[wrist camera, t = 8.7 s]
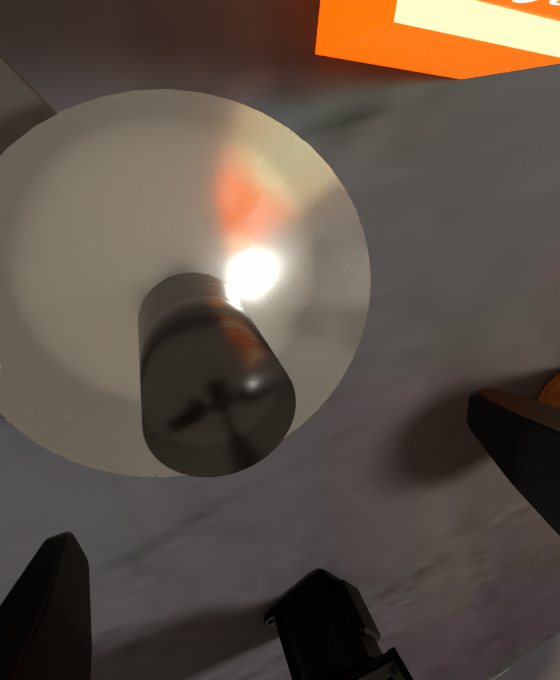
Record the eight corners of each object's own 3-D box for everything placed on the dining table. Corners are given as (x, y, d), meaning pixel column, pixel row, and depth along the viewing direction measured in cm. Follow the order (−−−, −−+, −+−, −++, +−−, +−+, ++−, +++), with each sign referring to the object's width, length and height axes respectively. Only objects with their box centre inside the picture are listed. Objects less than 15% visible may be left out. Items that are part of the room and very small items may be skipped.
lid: (181, 505, 17) (203, 661, 12) (-156, 309, 11) (-417, 472, 6) (409, 311, 16) (534, 390, 11) (200, -26, 10) (274, -192, 5)
